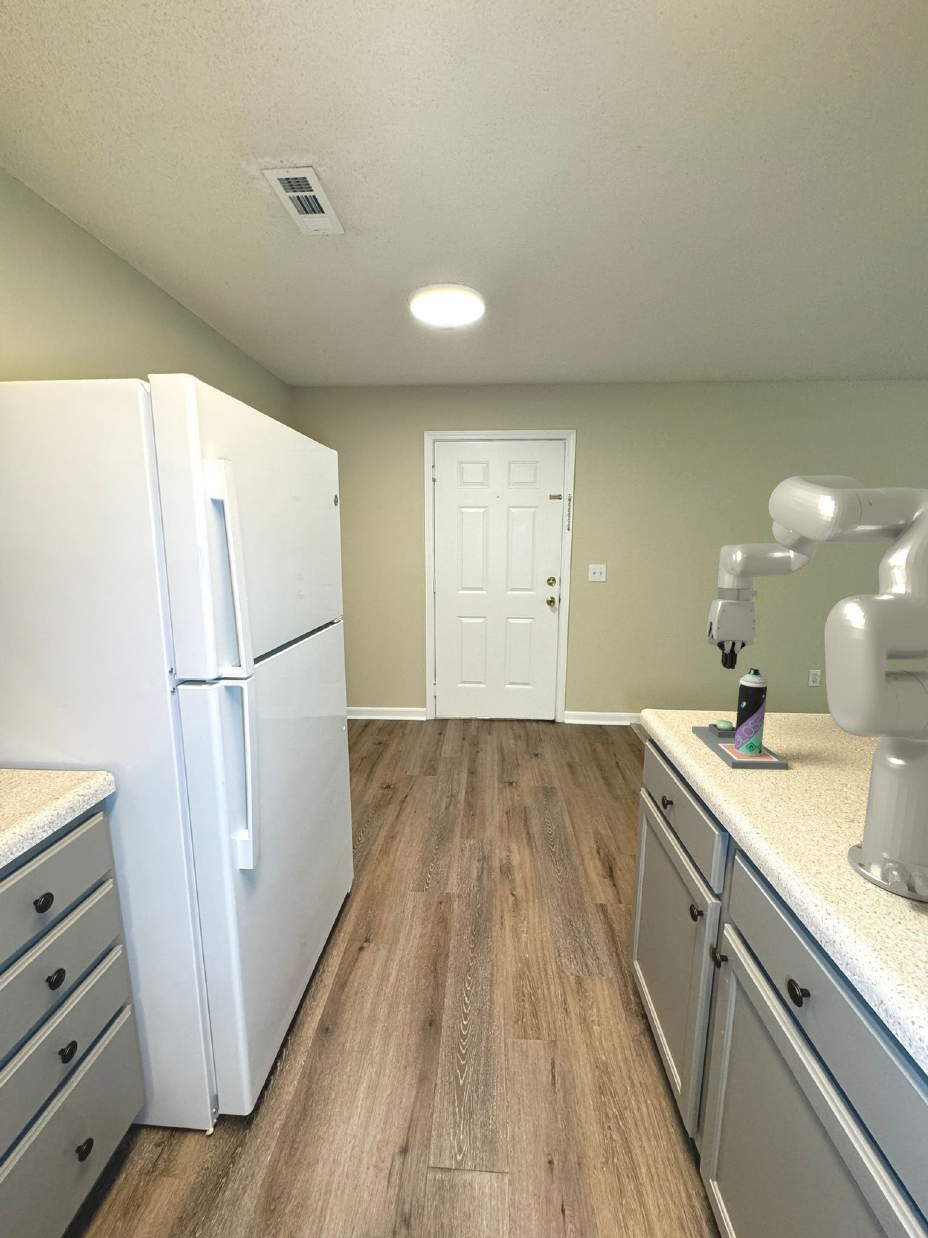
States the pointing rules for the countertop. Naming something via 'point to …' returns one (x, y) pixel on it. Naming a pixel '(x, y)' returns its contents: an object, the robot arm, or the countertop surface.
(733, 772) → the countertop surface
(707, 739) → the picture board
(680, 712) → the countertop surface
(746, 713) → the spray can
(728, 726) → the button
